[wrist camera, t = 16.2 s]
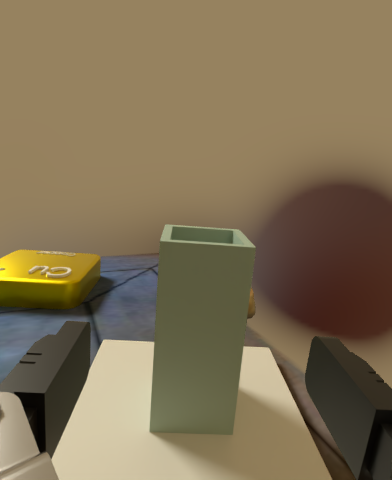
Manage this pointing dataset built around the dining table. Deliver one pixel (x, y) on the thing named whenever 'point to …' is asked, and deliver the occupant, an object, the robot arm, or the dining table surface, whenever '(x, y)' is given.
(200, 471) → the base plate
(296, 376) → the dining table surface
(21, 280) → the element tile
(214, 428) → the hollow square tube
